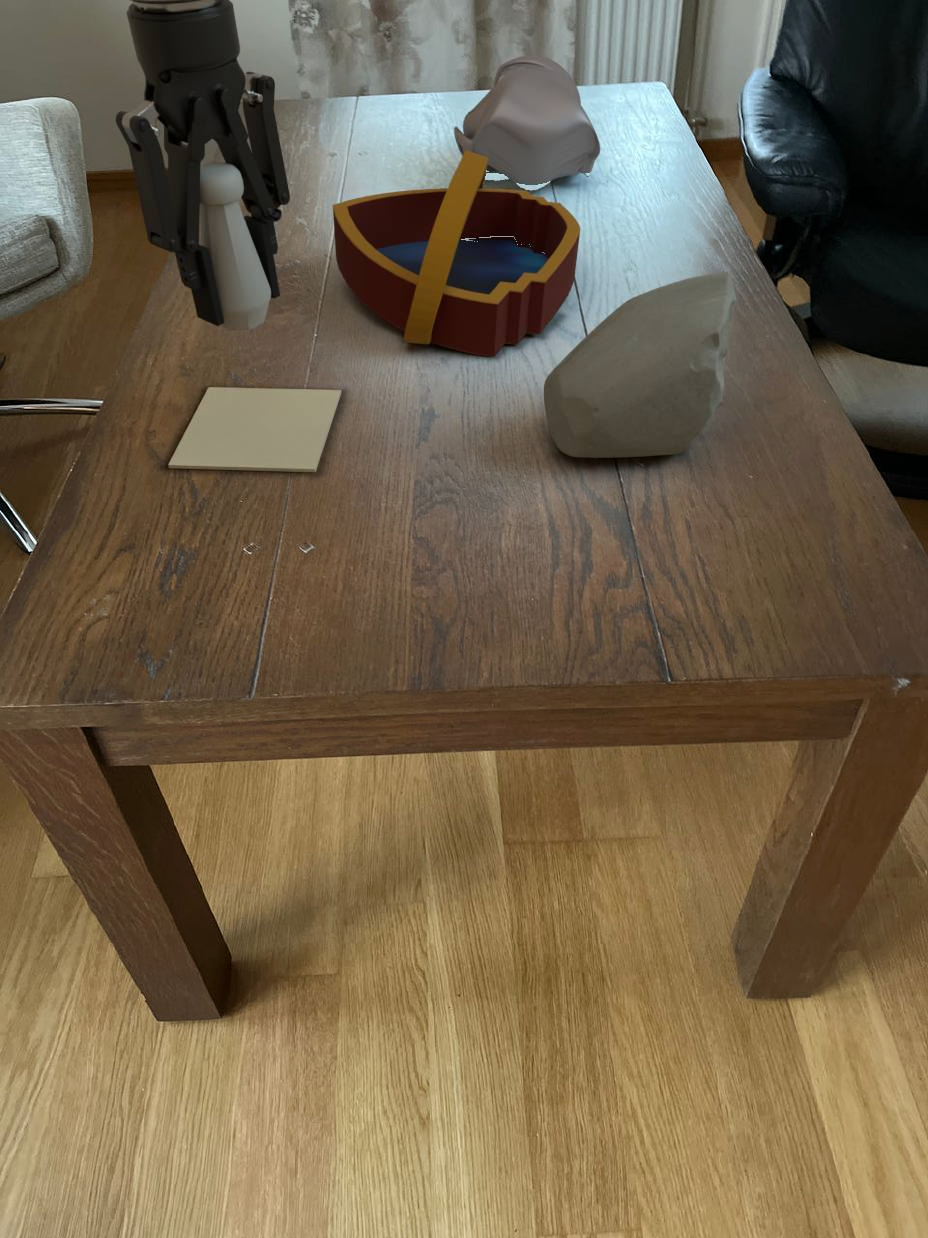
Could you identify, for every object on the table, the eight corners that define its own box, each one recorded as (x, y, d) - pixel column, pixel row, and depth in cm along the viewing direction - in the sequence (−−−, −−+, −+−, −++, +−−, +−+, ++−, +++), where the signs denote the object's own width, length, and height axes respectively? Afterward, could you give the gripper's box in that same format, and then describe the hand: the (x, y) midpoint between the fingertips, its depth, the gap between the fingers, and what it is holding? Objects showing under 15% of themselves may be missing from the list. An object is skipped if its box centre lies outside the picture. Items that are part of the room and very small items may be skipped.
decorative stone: (531, 415, 94) (536, 268, 84) (696, 395, 96) (721, 249, 86) (563, 486, 86) (572, 332, 75) (743, 462, 88) (777, 309, 77)
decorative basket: (542, 389, 102) (571, 254, 91) (284, 329, 104) (283, 189, 93) (583, 261, 126) (610, 142, 115) (373, 214, 128) (380, 93, 117)
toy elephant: (458, 213, 135) (464, 107, 123) (449, 146, 145) (453, 42, 133) (596, 213, 137) (615, 109, 125) (577, 146, 147) (593, 44, 135)
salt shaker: (269, 335, 82) (241, 180, 73) (203, 336, 83) (168, 181, 74) (279, 304, 87) (254, 153, 78) (217, 305, 87) (185, 155, 78)
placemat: (315, 472, 88) (315, 468, 88) (168, 468, 89) (167, 464, 89) (341, 393, 98) (341, 389, 98) (209, 390, 99) (208, 386, 99)
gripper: (97, 34, 61) (181, 361, 77) (310, -20, 71) (344, 279, 87) (32, 18, 64) (125, 334, 80) (244, -31, 74) (289, 259, 91)
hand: (239, 305), depth 84 cm, fingers closed on salt shaker, 6 cm apart
